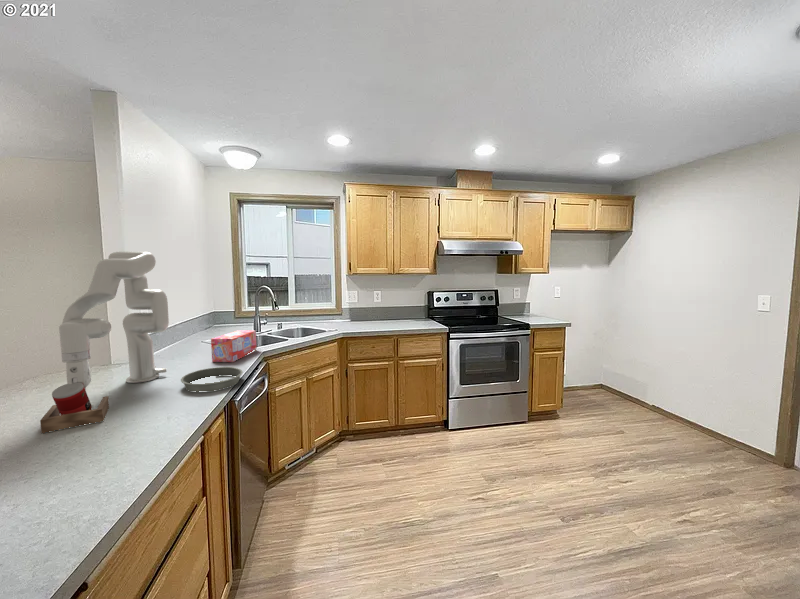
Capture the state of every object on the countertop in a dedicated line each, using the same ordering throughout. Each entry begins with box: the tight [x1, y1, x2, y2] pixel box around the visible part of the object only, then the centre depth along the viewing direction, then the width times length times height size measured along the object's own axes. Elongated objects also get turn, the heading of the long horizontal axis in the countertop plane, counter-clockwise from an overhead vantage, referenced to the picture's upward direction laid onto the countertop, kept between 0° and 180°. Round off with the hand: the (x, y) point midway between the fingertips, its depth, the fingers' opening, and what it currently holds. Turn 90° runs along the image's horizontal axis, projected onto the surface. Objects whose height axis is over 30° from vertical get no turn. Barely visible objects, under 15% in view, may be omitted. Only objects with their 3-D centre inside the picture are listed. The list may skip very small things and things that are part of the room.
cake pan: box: [180, 366, 244, 393], centre depth 154 cm, size 25×25×4 cm
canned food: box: [51, 382, 93, 415], centre depth 118 cm, size 8×8×11 cm
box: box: [210, 329, 258, 363], centre depth 199 cm, size 27×13×14 cm, turn 175°
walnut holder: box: [39, 395, 110, 434], centre depth 118 cm, size 15×14×4 cm
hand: (80, 405), depth 124 cm, fingers closed
